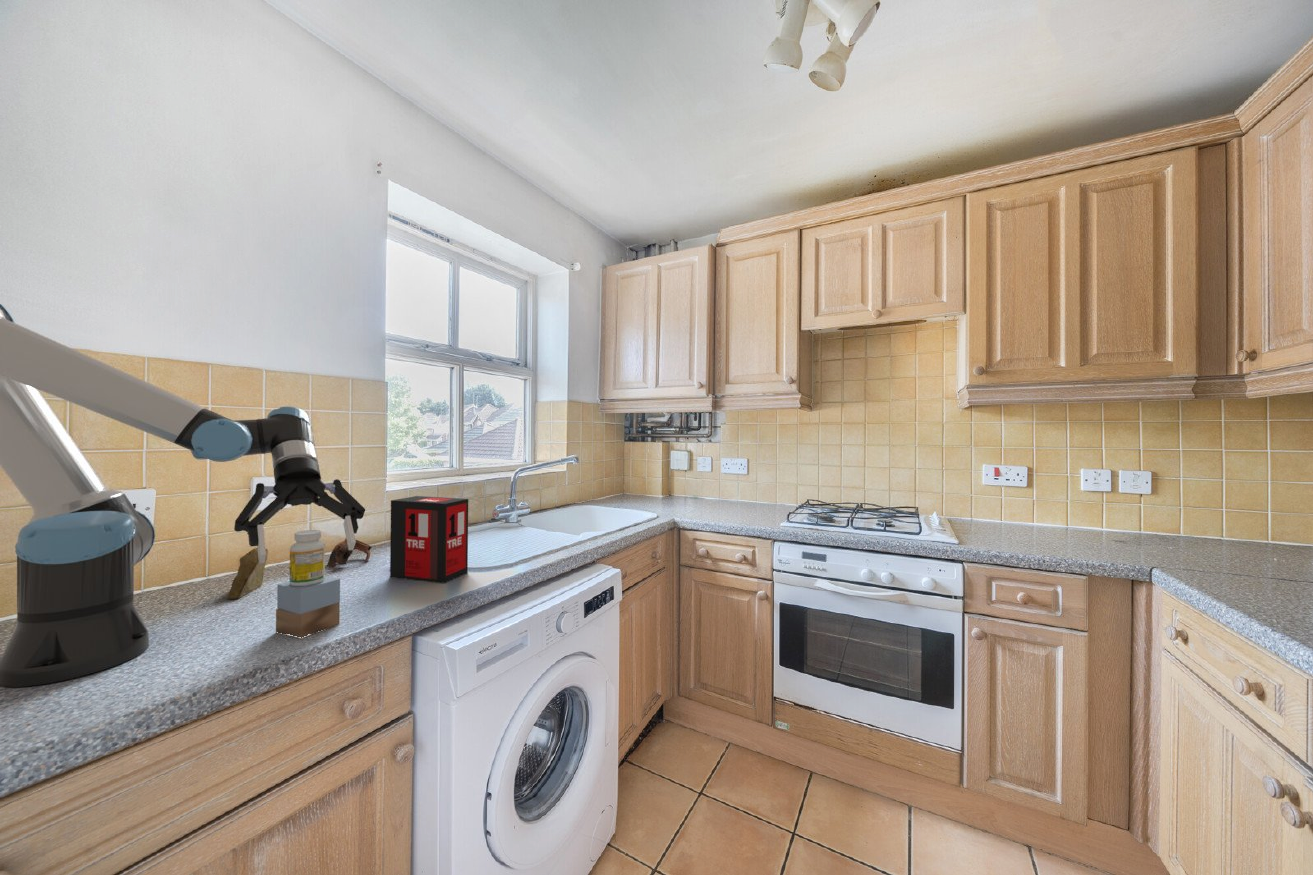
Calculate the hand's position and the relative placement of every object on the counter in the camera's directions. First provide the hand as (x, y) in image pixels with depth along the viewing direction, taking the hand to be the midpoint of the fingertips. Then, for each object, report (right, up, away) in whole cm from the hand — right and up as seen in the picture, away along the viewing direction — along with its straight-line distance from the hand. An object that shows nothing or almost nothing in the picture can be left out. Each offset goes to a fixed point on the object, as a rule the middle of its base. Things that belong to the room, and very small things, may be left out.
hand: (310, 552), depth 86 cm
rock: (-31, -15, +20) cm, 40 cm away
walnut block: (-1, -15, +1) cm, 15 cm away
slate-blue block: (-1, -11, +2) cm, 11 cm away
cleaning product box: (+5, -15, +35) cm, 38 cm away
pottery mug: (-23, -15, +44) cm, 52 cm away
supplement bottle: (-1, -6, +1) cm, 6 cm away
